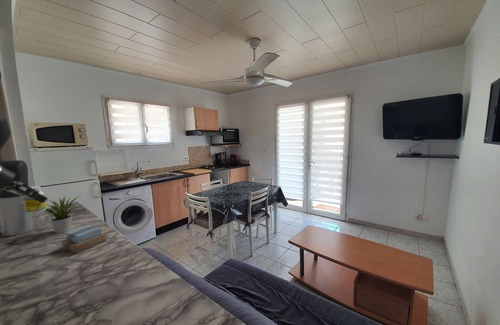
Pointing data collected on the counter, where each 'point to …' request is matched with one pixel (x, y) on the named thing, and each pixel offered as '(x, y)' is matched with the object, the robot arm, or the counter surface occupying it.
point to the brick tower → (83, 238)
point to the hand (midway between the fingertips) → (41, 199)
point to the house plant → (61, 215)
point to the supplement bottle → (34, 202)
